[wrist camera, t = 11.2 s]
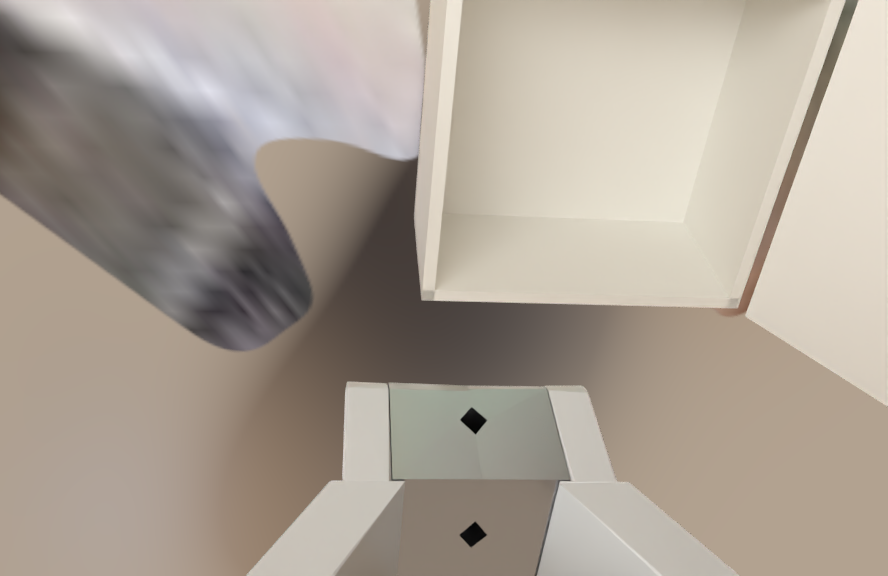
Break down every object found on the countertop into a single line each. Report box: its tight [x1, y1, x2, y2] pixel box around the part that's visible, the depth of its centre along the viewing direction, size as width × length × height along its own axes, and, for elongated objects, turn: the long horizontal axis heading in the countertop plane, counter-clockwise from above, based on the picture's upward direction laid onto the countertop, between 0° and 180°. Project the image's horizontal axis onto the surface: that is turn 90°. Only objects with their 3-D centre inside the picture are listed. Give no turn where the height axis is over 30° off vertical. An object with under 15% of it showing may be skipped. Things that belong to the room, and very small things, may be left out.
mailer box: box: [414, 0, 846, 308], centre depth 40 cm, size 16×16×8 cm
